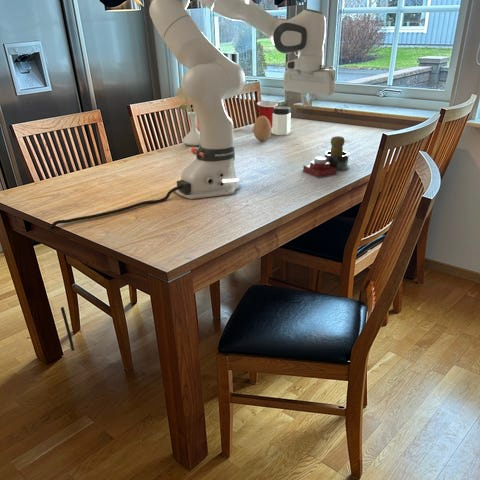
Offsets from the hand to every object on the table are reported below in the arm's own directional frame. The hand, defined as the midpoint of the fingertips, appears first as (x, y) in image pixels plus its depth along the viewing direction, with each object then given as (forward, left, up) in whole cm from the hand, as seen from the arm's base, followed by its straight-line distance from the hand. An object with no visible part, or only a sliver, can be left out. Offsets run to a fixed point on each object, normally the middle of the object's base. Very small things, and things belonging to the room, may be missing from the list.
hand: (307, 106), depth 177 cm
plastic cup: (+30, +72, -23) cm, 81 cm away
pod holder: (+11, -6, -22) cm, 26 cm away
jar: (+28, +56, -23) cm, 66 cm away
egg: (+11, +47, -23) cm, 53 cm away
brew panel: (+2, -8, -22) cm, 24 cm away
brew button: (+2, -8, -19) cm, 21 cm away
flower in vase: (-20, +59, -23) cm, 66 cm away
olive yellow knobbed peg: (+11, -6, -22) cm, 25 cm away
